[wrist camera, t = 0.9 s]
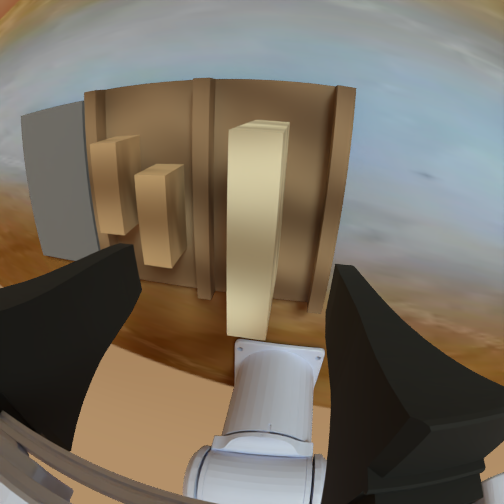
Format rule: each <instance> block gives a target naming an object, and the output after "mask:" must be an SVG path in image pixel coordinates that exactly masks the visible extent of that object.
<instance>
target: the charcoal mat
mask: <svg viewBox="0 0 504 504" xmlns="http://www.w3.org/2000/svg"><path fill="white" fill-rule="evenodd" d="M21 127H22V140H23V151H24V160H25V167H26V175H27V181H28V187H29V193H30V199H31V204H32V209H33V214H34V218H35V223H36V227H37V231H38V235H39V239H40V243H41V247H42V251H43V254H44V255H46V256H52V257H57V258H62V259H68V260H73V261H77V260H79V259H81V258H84V257H86V256H88V255H90V254H92V253H95V252H97V251H99V250H101V249H100V244H99V238H98V233H97V227H96V221H95V215H94V209H93V202H92V195H91V187H90V179H89V170H88V160H87V147H86V132H85V105H84V101H79V102H75V103H70V104H65V105H61V106H57V107H53V108H49V109H45V110H41V111H37V112H34V113H30V114H27V115H23V116H21Z"/></svg>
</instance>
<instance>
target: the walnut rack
mask: <svg viewBox="0 0 504 504" xmlns="http://www.w3.org/2000/svg"><path fill="white" fill-rule="evenodd" d="M355 96H356V88H352V87H346V86H339V85H338V86H336V87H335V86H327V85H319V84H311V83H301V82H289V81H275V80H252V79H213V78H194V79H193V80H185V81H171V82H160V83H150V84H141V85H133V86H126V87H120V88H113V89H107V90H95V91H90V92H85V93H84V105H85V132H86V147H87V160H88V170H89V179H90V187H91V195H92V202H93V209H94V215H95V221H96V227H97V233H98V238H99V244H100V249H101V250H102V249H104V248H107V247H109V246H112V245H115V244H119V243H123V244H133V245H134V251H135V257H136V262H137V268H138V273H139V278H140V279H142V280H148V281H154V282H161V283H167V284H173V285H180V286H186V287H193V288H197V292H198V298H200V299H207V300H211V299H212V297H213V294H214V292H215V291H221V292H227V179H228V138H229V130H230V129H232V128H235V127H237V126H240V125H243V124H246V123H248V122H251V121H254V120H266V121H280V122H290V126H289V140H288V154H287V167H286V179H285V191H284V203H283V214H282V225H281V236H280V246H279V257H278V267H277V274H276V280H275V287H274V293H273V298H275V299H283V300H292V301H301V302H307V312H309V313H318V314H321V312H322V308H323V304H324V299H325V295H326V290H327V285H328V281H329V276H330V271H331V266H332V261H333V256H334V251H335V245H336V240H337V234H338V229H339V223H340V217H341V211H342V205H343V198H344V192H345V185H346V178H347V171H348V163H349V155H350V147H351V138H352V129H353V119H354V108H355ZM133 135H140V155H141V171H143V170H145V169H147V168H149V167H151V166H153V165H155V164H184V185H185V212H186V232H187V248H186V250H185V251H184V252H183V254H182V255H181V256H180V258H179V259H178V261H177V262H176V263H175V265H174V266H173V268H165V267H158V266H151V265H144V258H143V252H142V244H141V237H140V229H139V224H137V225H136V226H135V227H134V228H133V229H132V230H130V231H129V232H128V233H127V234H126V235H116V234H107V233H101V231H100V225H99V219H98V213H97V206H96V199H95V192H94V184H93V175H92V165H91V153H90V144H92V143H96V142H99V141H102V140H106V139H109V138H112V137H117V136H133Z"/></svg>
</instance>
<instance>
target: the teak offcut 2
mask: <svg viewBox="0 0 504 504" xmlns="http://www.w3.org/2000/svg"><path fill="white" fill-rule="evenodd" d="M134 178H135V190H136V201H137V211H138V220H139V229H140V237H141V244H142V252H143V258H144V265H151V266H158V267H165V268H173V266H174V265H175V263H176V262H177V261H178V259H179V258H180V256H181V255H182V254H183V252H184V251H185V250H186V248H187V232H186V212H185V185H184V164H155V165H153V166H151V167H149V168H147V169H145V170H143V171H141V172H139V173H137V174H135V175H134Z"/></svg>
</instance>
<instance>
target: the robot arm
mask: <svg viewBox="0 0 504 504" xmlns="http://www.w3.org/2000/svg"><path fill="white" fill-rule="evenodd" d="M141 291H142V288H141V283H140V278H139V273H138V268H137V262H136V257H135V251H134V245H133V244H123V243H119V244H115V245H112V246H109V247H107V248H104V249H102V250H99V251H97V252H95V253H92V254H90V255H88V256H86V257H84V258H81V259H79V260H77V261H75V262H73V263H70V264H68V265H66V266H63V267H61V268H59V269H56V270H54V271H52V272H50V273H47V274H45V275H42V276H39V277H37V278H34V279H31V280H28V281H25V282H22V283H18V284H15V285H11V286H7V287H4V288H0V504H72V503H70V498H71V496H72V494H73V490H72V488H70V487H68V486H67V485H65V484H64V483H62V482H61V481H60V480H58V479H57V478H55V477H54V476H53V475H51V474H50V473H49V472H47V471H46V470H45V469H44V468H42V467H41V466H40V465H39V464H38V463H36V462H35V461H34V460H32V459H31V458H30V457H29V454H28V452H29V453H30V454H31V455H33V456H35V457H36V458H38V459H39V460H41V461H42V462H44V463H45V464H47V465H49V466H50V467H52V468H54V469H55V470H57V471H59V472H61V473H62V474H64V475H66V476H68V477H69V478H71V479H73V480H75V481H77V482H79V483H81V484H83V485H85V486H87V487H89V488H91V489H93V490H95V491H97V492H99V493H101V494H103V495H106V496H108V497H110V498H112V499H115V500H117V501H120V502H122V503H125V504H504V472H503V473H500V474H498V475H495V476H493V477H490V478H488V479H487V480H484V481H482V482H481V479H480V474H479V473H482V472H483V471H484V470H485V463H484V457H486V456H487V455H488V454H489V453H490V452H492V451H493V450H494V449H495V448H496V447H497V446H498V445H500V443H502V442H503V441H504V386H502V385H500V384H497V383H495V382H493V381H491V380H489V379H487V378H485V377H483V376H481V375H479V374H477V373H475V372H473V371H472V370H470V369H468V368H466V367H465V366H463V365H461V364H460V363H458V362H456V361H455V360H453V359H452V358H450V357H449V356H447V355H446V354H444V353H443V352H442V351H440V350H439V349H437V348H436V347H435V346H433V345H432V344H431V343H429V342H428V341H427V340H425V339H424V338H423V337H422V336H421V335H419V334H418V333H417V332H416V331H415V330H413V329H412V328H411V327H410V326H409V325H408V324H407V323H406V322H404V321H403V320H402V319H401V318H400V317H399V316H398V315H397V314H396V313H395V312H394V311H393V310H392V309H391V308H390V307H389V306H388V305H387V303H386V302H385V301H384V300H383V299H382V298H381V297H380V296H379V295H378V294H377V292H376V291H375V290H374V289H373V288H372V287H371V286H370V284H369V283H368V282H367V281H366V280H365V279H364V277H363V276H362V275H361V274H360V273H359V272H358V270H357V269H356V268H355V267H354V266H352V265H341V264H335V269H334V274H333V279H332V284H331V289H330V294H329V299H328V304H327V309H326V326H325V338H326V348H327V358H328V368H329V378H330V389H331V416H330V433H329V446H328V456H327V460H326V459H325V458H323V456H322V454H314V457H313V443H312V442H311V435H312V414H313V412H312V411H313V389H314V386H315V383H316V380H317V377H318V374H319V371H320V368H321V365H322V362H323V358H324V355H325V351H324V350H323V349H321V348H313V347H302V346H293V345H284V344H275V343H267V342H260V341H252V340H245V339H237V340H236V342H235V385H234V389H233V393H232V397H231V401H230V405H229V409H228V413H227V417H226V421H225V424H224V429H223V432H222V436H217V435H216V436H214V439H213V443H212V446H208V445H206V446H203V447H201V448H200V449H199V450H198V451H197V452H196V453H194V455H193V456H192V458H191V459H190V461H189V463H188V466H187V469H186V472H185V476H184V482H183V496H182V495H179V494H175V493H171V492H168V491H164V490H161V489H158V488H155V487H152V486H149V485H146V484H143V483H140V482H137V481H134V480H132V479H129V478H126V477H124V476H121V475H119V474H116V473H114V472H111V471H109V470H106V469H104V468H102V467H100V466H98V465H95V464H93V463H91V462H89V461H87V460H85V459H82V458H81V457H79V456H77V455H75V454H72V453H71V452H69V451H71V448H72V442H73V437H74V433H75V429H76V424H77V421H78V417H79V414H80V411H81V407H82V404H83V401H84V398H85V396H86V393H87V391H88V388H89V385H90V383H91V380H92V378H93V376H94V374H95V371H96V369H97V367H98V365H99V363H100V361H101V359H102V357H103V356H104V354H105V352H106V351H107V348H108V347H109V346H110V344H111V343H112V341H113V340H114V338H115V337H116V335H117V334H118V332H119V330H120V329H121V327H122V326H123V324H124V323H125V321H126V320H127V318H128V317H129V315H130V314H131V312H132V310H133V308H134V306H135V304H136V302H137V300H138V298H139V295H140V293H141ZM239 347H241V348H239ZM312 457H313V463H312Z"/></svg>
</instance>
